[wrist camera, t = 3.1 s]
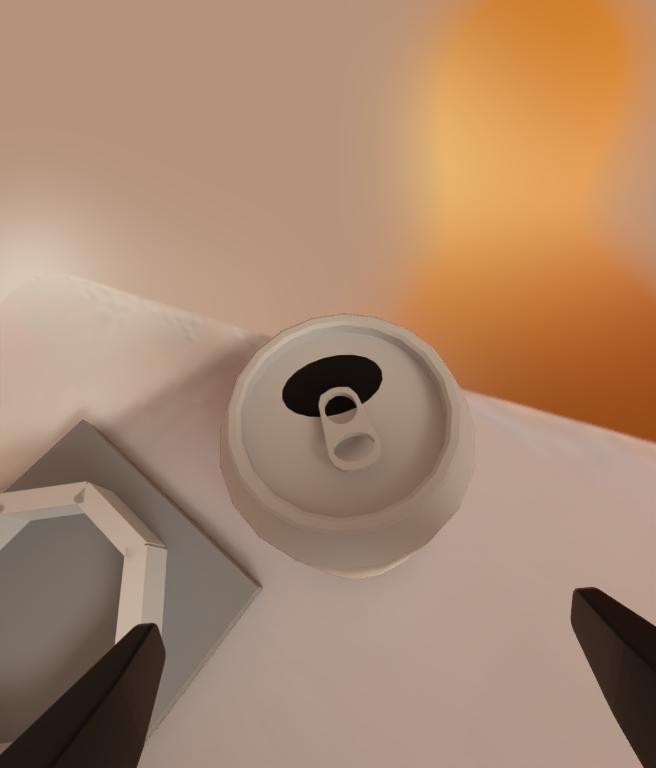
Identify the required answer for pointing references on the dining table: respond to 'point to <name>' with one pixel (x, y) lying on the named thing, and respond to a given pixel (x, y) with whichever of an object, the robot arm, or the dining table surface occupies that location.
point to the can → (347, 444)
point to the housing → (102, 578)
